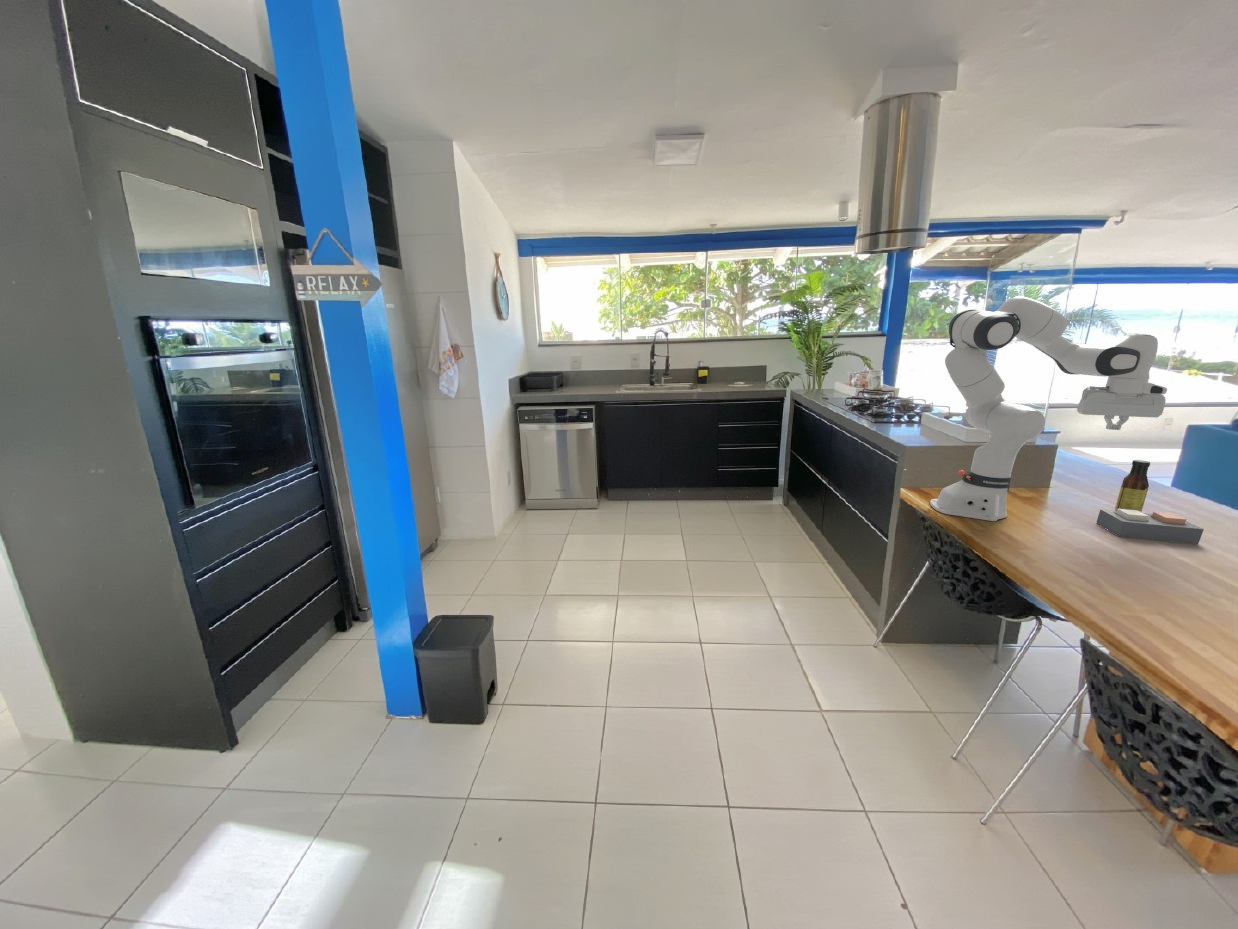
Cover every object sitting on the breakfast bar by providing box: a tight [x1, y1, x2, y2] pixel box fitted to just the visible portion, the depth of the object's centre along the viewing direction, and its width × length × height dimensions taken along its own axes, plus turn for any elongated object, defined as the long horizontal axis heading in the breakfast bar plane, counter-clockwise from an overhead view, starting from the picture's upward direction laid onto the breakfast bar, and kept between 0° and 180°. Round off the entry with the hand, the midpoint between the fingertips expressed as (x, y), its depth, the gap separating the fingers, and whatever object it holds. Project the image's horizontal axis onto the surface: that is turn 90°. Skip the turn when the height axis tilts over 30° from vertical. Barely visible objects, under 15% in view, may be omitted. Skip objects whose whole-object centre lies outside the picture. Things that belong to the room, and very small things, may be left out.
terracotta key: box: [1151, 511, 1187, 525], centre depth 145 cm, size 5×5×4 cm
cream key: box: [1116, 509, 1149, 521], centre depth 148 cm, size 5×5×4 cm
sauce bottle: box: [1114, 459, 1151, 513], centre depth 159 cm, size 6×6×20 cm
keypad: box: [1096, 508, 1205, 545], centre depth 147 cm, size 19×11×5 cm, turn 72°
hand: (1112, 429), depth 151 cm, fingers closed
